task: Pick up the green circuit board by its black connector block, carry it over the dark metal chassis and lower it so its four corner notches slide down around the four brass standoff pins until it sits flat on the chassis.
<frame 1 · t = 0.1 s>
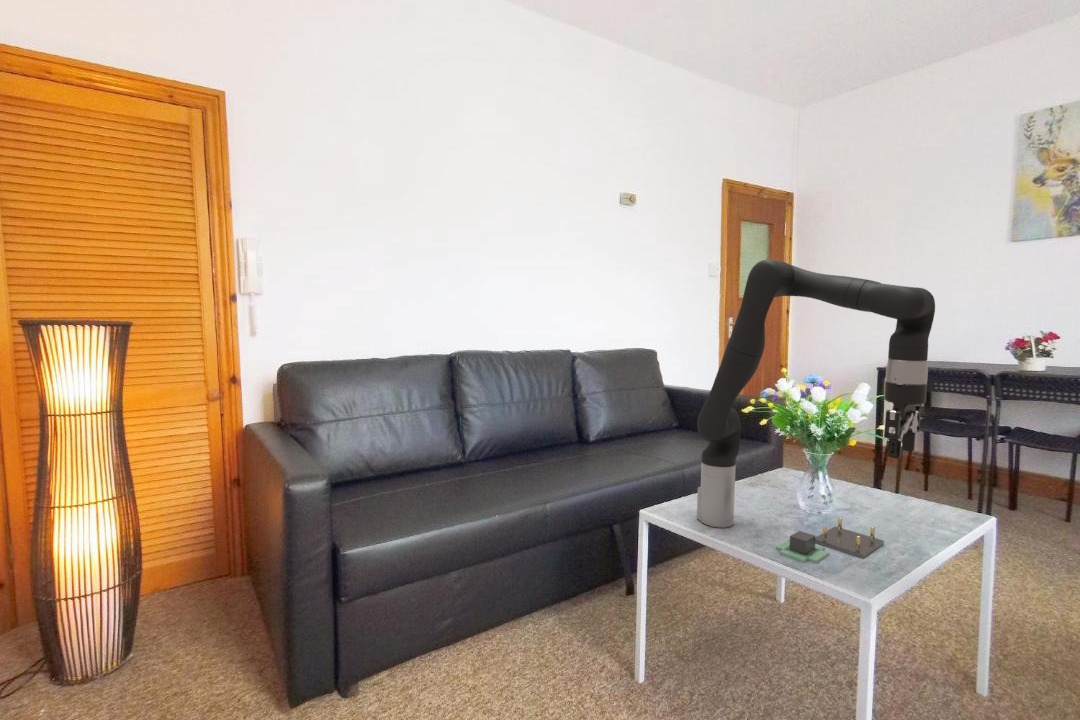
hand: (901, 454, 120), 29 cm above the table, tool pointing down, fingers open, 8 cm apart
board: (801, 554, 137), on the table
chassis: (848, 543, 142), on the table
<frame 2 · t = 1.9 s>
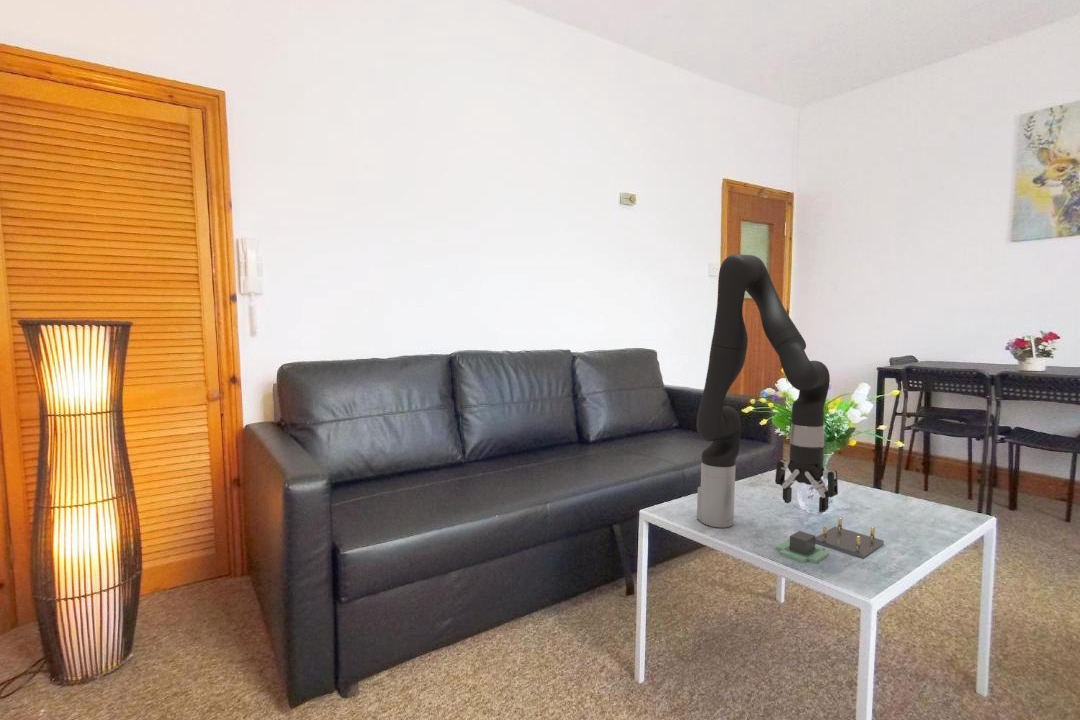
hand: (804, 507, 136), 12 cm above the table, tool pointing down, fingers open, 8 cm apart
nothing on the table moved.
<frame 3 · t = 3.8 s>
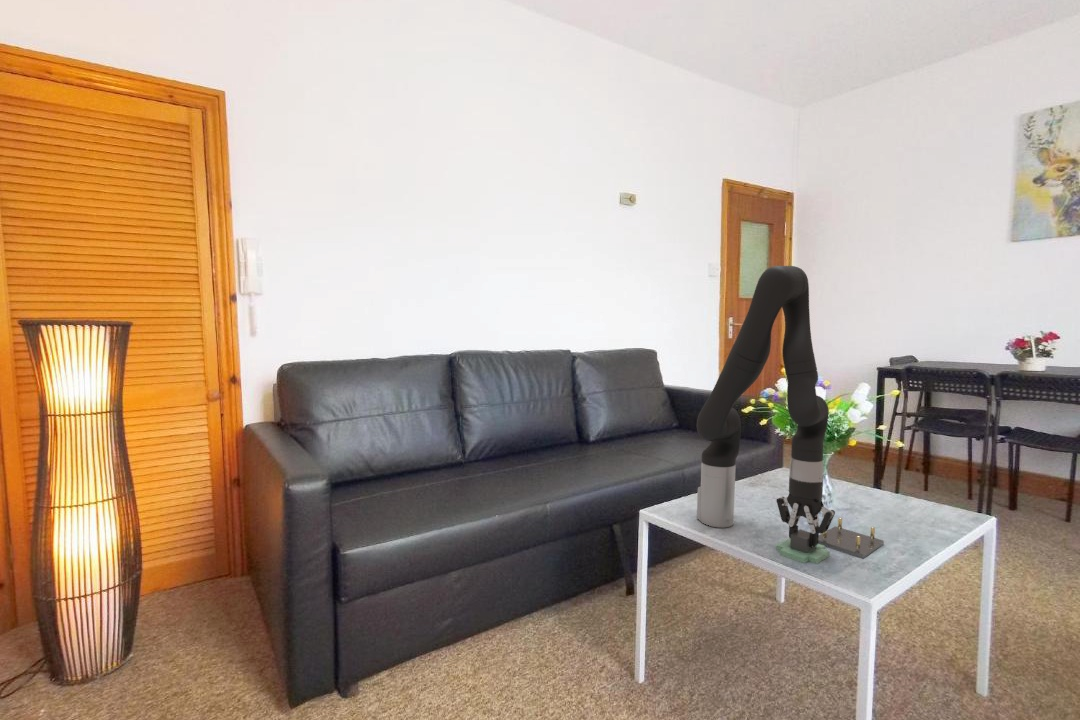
hand: (803, 543, 136), 2 cm above the table, tool pointing down, fingers closed on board, 4 cm apart
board: (802, 552, 137), on the table, touching gripper
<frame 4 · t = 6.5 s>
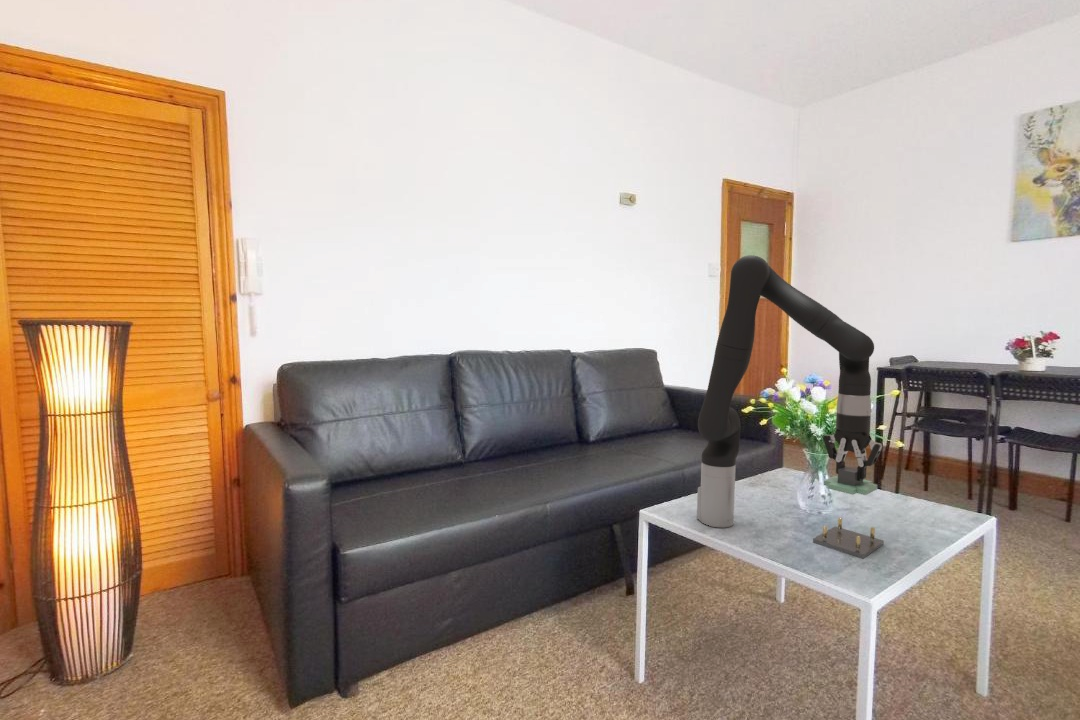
hand: (850, 478, 140), 18 cm above the table, tool pointing down, fingers closed on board, 4 cm apart
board: (850, 487, 140), point 15 cm above the table, touching gripper
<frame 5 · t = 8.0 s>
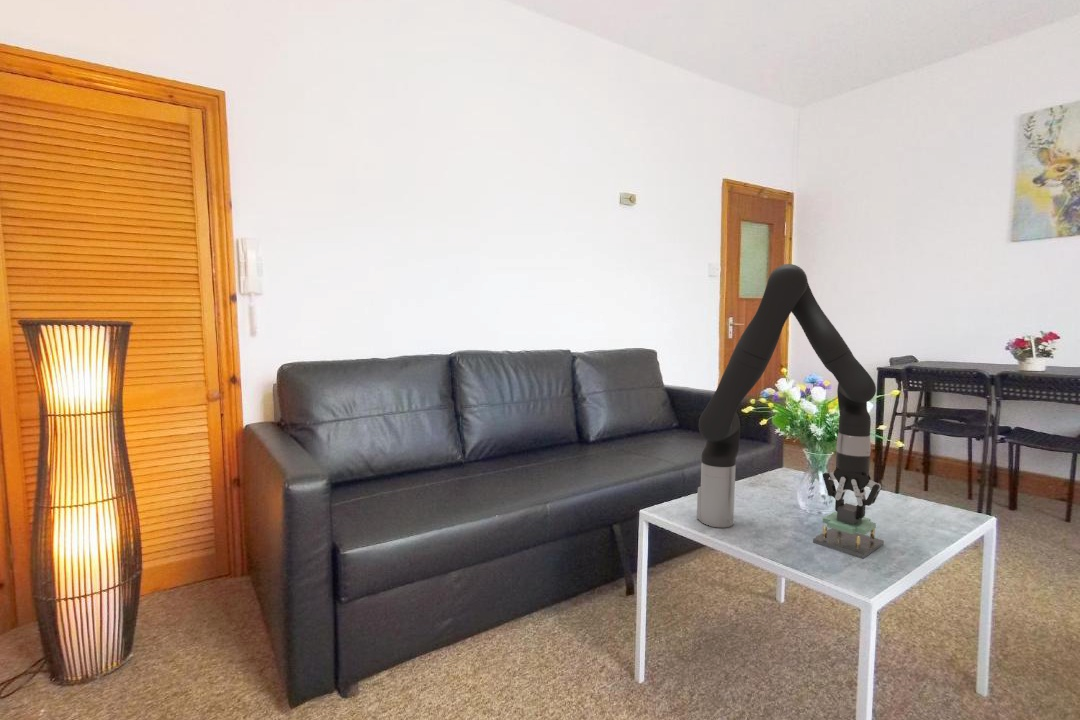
hand: (849, 516, 141), 7 cm above the table, tool pointing down, fingers closed on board, 4 cm apart
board: (848, 525, 142), point 5 cm above the table, touching gripper
when the fingers open (4 cm above the table, at t = 9.3 s): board stays where it is, resting on chassis.
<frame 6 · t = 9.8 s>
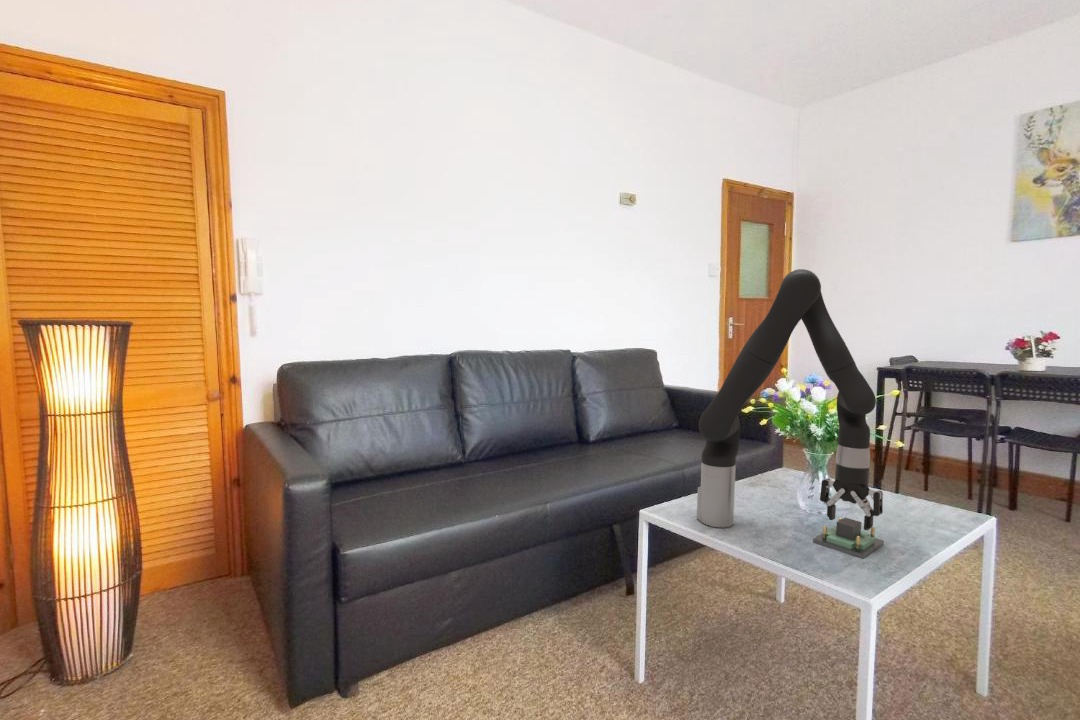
hand: (849, 524, 142), 5 cm above the table, tool pointing down, fingers open, 8 cm apart
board: (848, 539, 142), point 1 cm above the table, touching chassis
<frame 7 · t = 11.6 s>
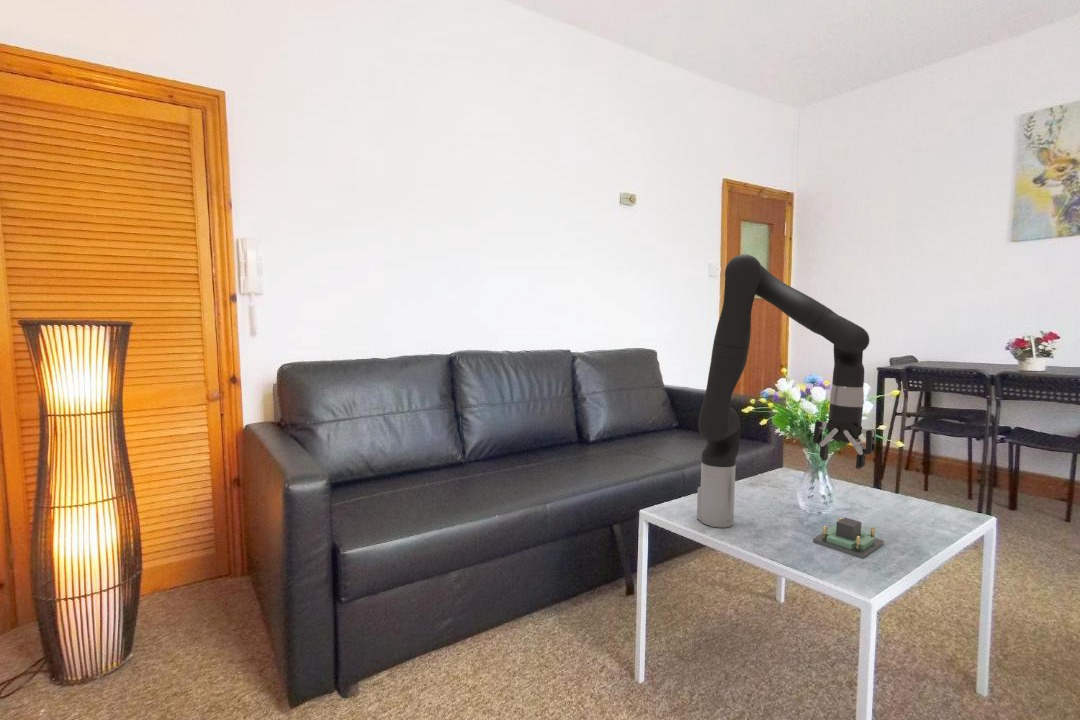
hand: (841, 464, 143), 20 cm above the table, tool pointing down, fingers open, 8 cm apart
nothing on the table moved.
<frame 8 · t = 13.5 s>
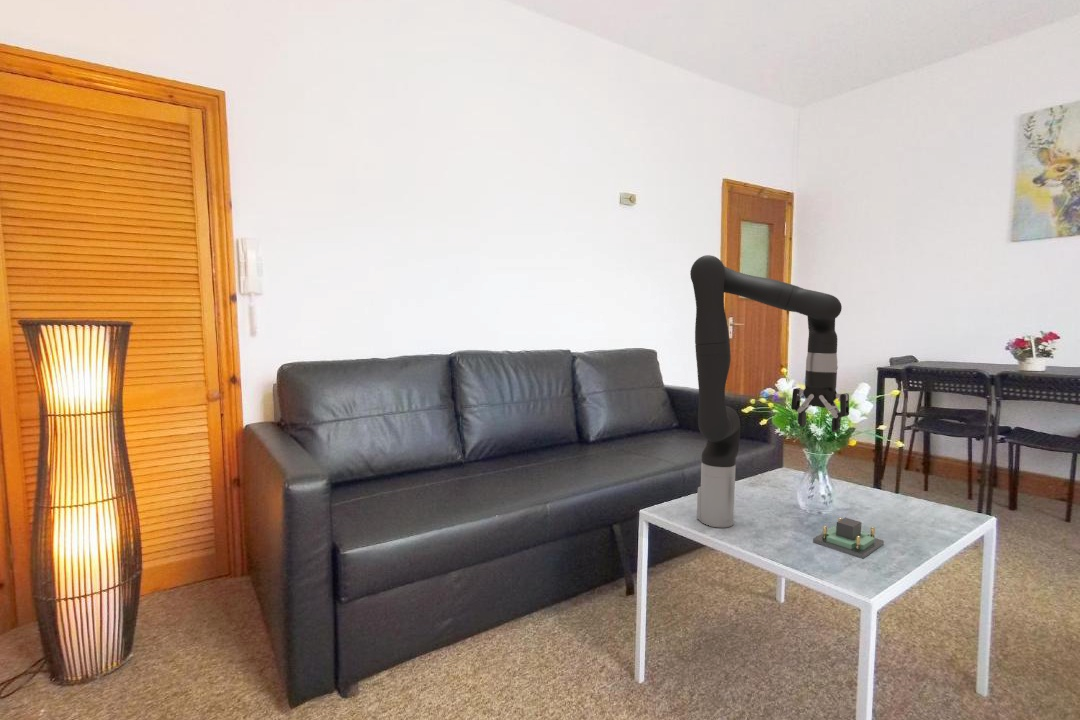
hand: (818, 428, 149), 28 cm above the table, tool pointing down, fingers open, 8 cm apart
nothing on the table moved.
at the end: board 0.1 cm off-centre on the chassis, point 1.0 cm above the chassis's base; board tilted 0°; the gripper is holding nothing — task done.
